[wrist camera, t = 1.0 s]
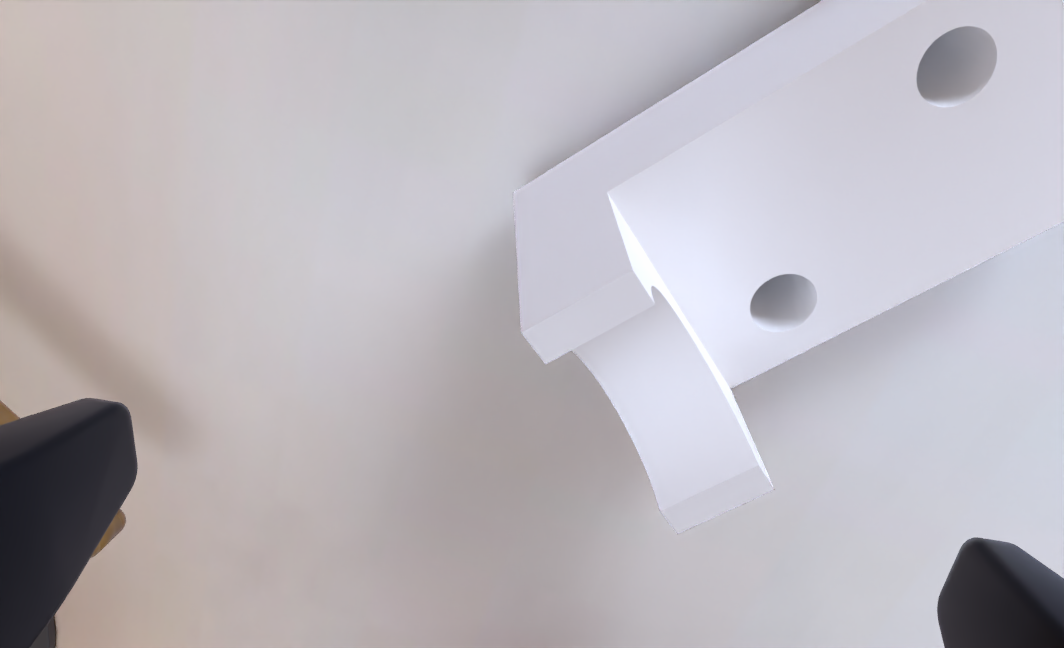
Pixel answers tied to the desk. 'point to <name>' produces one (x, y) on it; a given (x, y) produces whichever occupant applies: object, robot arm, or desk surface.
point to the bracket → (788, 214)
